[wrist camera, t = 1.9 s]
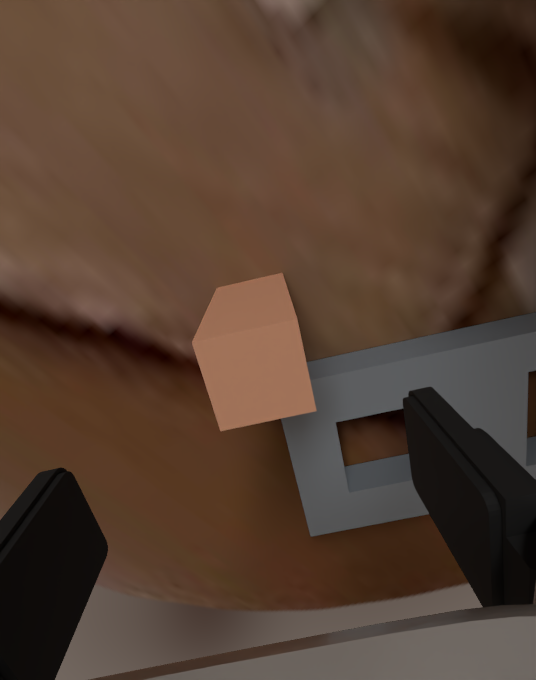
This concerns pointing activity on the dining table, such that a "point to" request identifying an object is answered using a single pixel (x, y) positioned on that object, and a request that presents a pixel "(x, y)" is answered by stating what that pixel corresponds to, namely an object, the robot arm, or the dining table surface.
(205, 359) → the square peg
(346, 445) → the dining table surface
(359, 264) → the dining table surface
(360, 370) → the socket board
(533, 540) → the robot arm
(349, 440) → the dining table surface
